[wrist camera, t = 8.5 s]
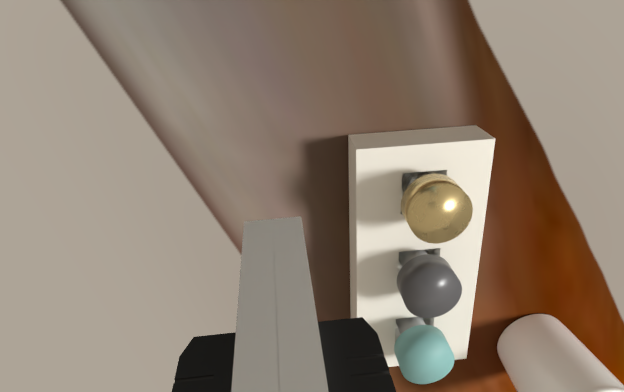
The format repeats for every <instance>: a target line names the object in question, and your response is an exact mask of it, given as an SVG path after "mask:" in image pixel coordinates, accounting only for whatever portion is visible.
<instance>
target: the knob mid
mask: <svg viewBox="0 0 624 392" xmlns="http://www.w3.org/2000/svg"><path fill="white" fill-rule="evenodd" d="M399 262H400V264H401V266H402V268H401V269H400V271H399V273H398V276H397V287H398V290H399V292H400V294H401V297H402V299H403V301H404V304H405V306H406V308H407V309H408V310H409V312H411V313H412V314H413V315H415V316H417V317H421V318H434V317H438V316H441V315H443V314H445V313H447V312H449V311H450V310H451V309H453V308H454V307H455V305H456V304H457V303H458V301H459V299H460V297H461V294H462V286H461V282H460V280H459V279H458V277H457V276H456V274H455V273H454V271H453V270H452V268H451V266H450V265H449V263H448V262H447V261H446V260H445V259H444V258H442V257H440V256H437V255H433V254H427V252H426V251H425V250H414V251H403V252H399Z"/></svg>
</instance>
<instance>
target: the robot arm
mask: <svg viewBox="0 0 624 392" xmlns="http://www.w3.org/2000/svg"><path fill="white" fill-rule="evenodd" d="M172 392H396V390H395V387H394V384H393V381H392V377H391V375H390V373H389V368H388V365H387V362H386V359H385V358H384V352H383V349H382V346H381V343H380V340H379V337H378V333H377V332H376V331H375V330H374V329H373V328H372V327H371V326H370V325H369V324H368V323H367V322H366V321H365V320H364V318H363V317H359V318H350V319H341V320H332V321H322V322H318V321H317V315H316V308H315V302H314V295H313V289H312V283H311V276H310V270H309V264H308V257H307V251H306V245H305V238H304V232H303V225H302V219H301V216H300V217H289V218H278V219H268V220H257V221H247V222H244V231H243V244H242V257H241V270H240V284H239V296H238V310H237V323H236V333H227V334H217V335H208V336H199V337H194V338H193V339H192V340H191V342H190V343H189V344H188V346H187V347H186V349H185V350H184V351H183V353H182V354H181V356H180V357H179V362H178V366H177V371H176V376H175V383H174V385H173V389H172Z"/></svg>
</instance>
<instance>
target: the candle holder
mask: <svg viewBox="0 0 624 392" xmlns="http://www.w3.org/2000/svg"><path fill="white" fill-rule="evenodd" d="M497 352H498V356H499V358H500V360H501V362H502V364H503V366H504V368H505V370H506V372H507V374H508V376H509V377H510V379H511V381H512V383H513V385H514V387H515V389H516V391H517V392H624V385H623V384H622V383H621V382H620V381H619V380H618V379H617V378H616V377H615V376H614V375H613V374H612V373H611V372H610V371H609V370H608V369H607V368H606V367H605V366H604V365H603V364H602V363H601V362H600V361H599V360H598V359H597V358H596V357H595V356H594V355H593V354H592V353H591V352H590V351H589V350H588V349H587V348H586V347H585V346H584V345H583V343H582V342H581V341H580V340H579V339H578V338H577V337H576V336H575V335H574V334H573V333H572V332H571V331H570V330H569V329H568V328H567V327H566V326H565V325H564V324H562V323H561V322H560V321H559V320H558V319H556V318H555V317H553V316H550V315H547V314H532V315H528V316H524V317H522V318H520V319H518V320H516V321H514V322H513V323H511V324H510V325H509V326H508V327H507V328H506V329H505V330H504V331H503V332H502V334H501V336H500V337H499V340H498V343H497Z"/></svg>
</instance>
